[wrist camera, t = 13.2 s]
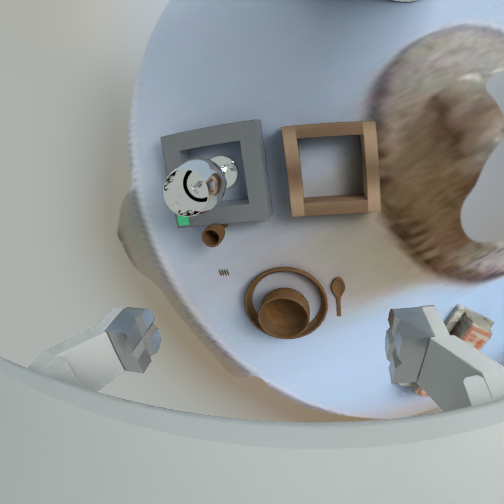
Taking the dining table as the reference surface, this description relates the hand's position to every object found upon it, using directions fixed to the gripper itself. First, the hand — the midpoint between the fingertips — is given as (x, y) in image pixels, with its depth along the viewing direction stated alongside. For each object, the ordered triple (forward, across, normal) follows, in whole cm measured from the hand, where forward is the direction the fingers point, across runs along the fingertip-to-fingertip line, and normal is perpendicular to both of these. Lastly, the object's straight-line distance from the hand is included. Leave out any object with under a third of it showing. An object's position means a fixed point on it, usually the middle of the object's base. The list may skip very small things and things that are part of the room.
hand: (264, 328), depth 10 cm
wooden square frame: (+30, -4, 0) cm, 30 cm away
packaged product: (+30, -24, +31) cm, 49 cm away
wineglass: (+30, +10, -1) cm, 32 cm away
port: (+30, +10, -1) cm, 32 cm away
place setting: (+30, +4, +15) cm, 34 cm away
